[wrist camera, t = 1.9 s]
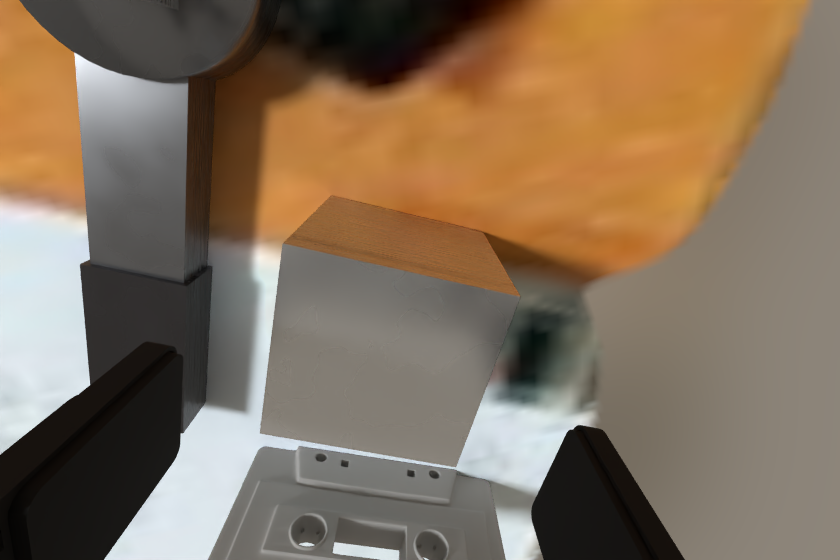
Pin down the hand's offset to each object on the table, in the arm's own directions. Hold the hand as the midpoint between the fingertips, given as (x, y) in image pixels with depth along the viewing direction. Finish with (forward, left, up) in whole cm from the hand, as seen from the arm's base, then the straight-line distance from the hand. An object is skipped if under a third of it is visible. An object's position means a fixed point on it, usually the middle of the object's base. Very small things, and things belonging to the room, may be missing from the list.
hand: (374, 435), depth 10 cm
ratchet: (-4, -9, -8) cm, 13 cm away
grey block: (-1, 0, -8) cm, 8 cm away
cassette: (+10, +1, -8) cm, 13 cm away
